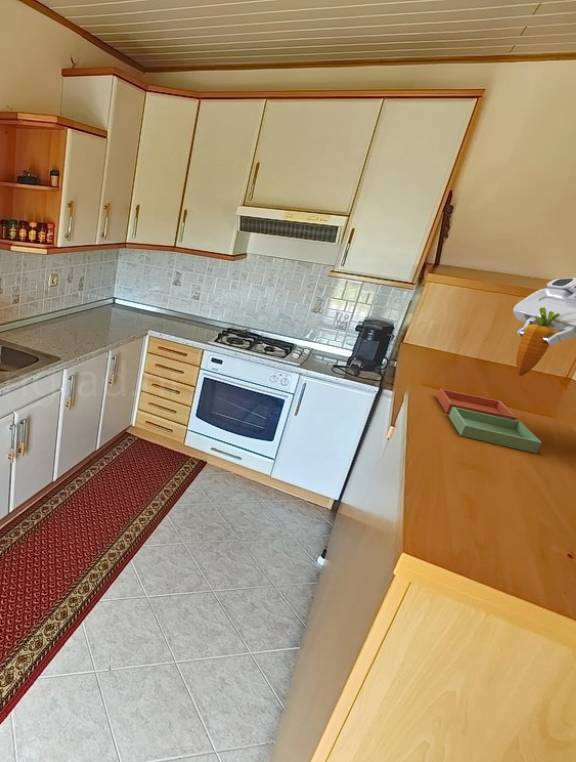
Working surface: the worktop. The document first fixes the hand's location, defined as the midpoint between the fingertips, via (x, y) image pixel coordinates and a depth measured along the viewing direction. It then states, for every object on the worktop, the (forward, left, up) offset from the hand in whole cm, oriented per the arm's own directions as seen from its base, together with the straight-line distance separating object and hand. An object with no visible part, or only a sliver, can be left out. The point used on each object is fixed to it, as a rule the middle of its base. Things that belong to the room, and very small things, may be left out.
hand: (533, 338), depth 104 cm
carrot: (-1, 0, -9) cm, 9 cm away
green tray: (+1, +1, -22) cm, 22 cm away
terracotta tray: (+1, -15, -22) cm, 27 cm away
